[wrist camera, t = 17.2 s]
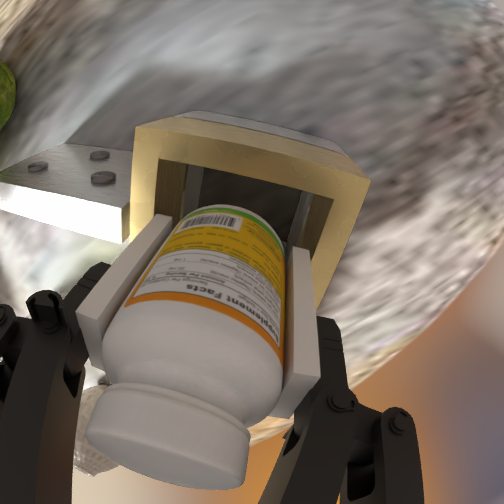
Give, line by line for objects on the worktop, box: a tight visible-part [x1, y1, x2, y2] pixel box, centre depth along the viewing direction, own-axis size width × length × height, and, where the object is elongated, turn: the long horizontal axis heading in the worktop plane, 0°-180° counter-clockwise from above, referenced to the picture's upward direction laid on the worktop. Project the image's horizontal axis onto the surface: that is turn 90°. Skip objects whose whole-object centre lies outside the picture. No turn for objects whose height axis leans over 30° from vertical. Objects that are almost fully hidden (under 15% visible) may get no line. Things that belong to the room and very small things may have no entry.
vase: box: [73, 385, 120, 476], centre depth 36 cm, size 13×13×17 cm
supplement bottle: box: [85, 204, 286, 490], centre depth 9 cm, size 5×5×10 cm
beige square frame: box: [130, 116, 371, 310], centre depth 20 cm, size 10×22×10 cm, turn 168°
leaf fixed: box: [0, 110, 347, 265], centre depth 17 cm, size 22×10×10 cm, turn 78°
